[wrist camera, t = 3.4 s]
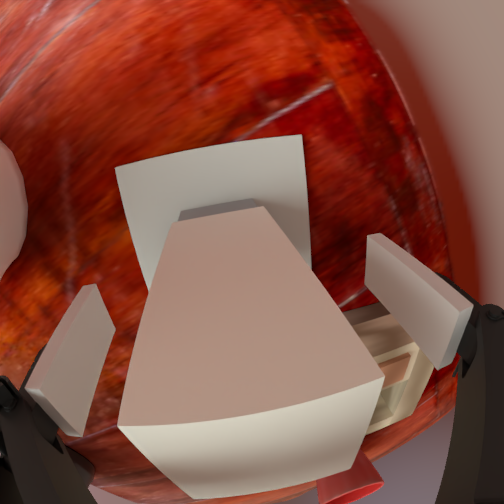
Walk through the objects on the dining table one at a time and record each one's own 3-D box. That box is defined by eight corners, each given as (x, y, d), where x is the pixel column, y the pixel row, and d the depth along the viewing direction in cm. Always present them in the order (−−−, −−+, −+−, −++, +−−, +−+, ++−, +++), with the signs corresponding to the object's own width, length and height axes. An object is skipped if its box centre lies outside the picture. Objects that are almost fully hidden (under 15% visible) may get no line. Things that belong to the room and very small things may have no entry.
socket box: (185, 430, 28) (186, 476, 22) (139, 350, 22) (128, 409, 16) (390, 381, 30) (413, 417, 24) (412, 291, 25) (452, 329, 19)
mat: (161, 319, 21) (160, 323, 21) (117, 166, 16) (114, 167, 16) (309, 291, 22) (312, 295, 22) (298, 134, 17) (301, 134, 17)
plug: (193, 277, 20) (193, 499, 6) (177, 208, 18) (117, 425, 4) (263, 264, 20) (350, 468, 7) (254, 194, 18) (385, 375, 4)
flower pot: (296, 470, 38) (309, 514, 29) (320, 442, 34) (339, 494, 25) (346, 460, 41) (363, 499, 32) (375, 431, 37) (397, 475, 28)
